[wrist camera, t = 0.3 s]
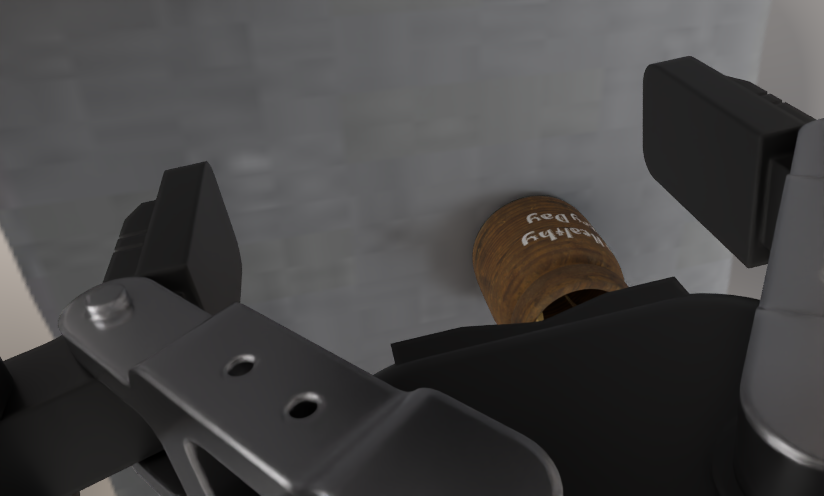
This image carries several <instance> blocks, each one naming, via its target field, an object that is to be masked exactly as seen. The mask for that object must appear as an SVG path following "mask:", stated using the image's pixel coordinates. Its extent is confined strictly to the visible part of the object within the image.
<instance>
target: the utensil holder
mask: <svg viewBox="0 0 824 496" xmlns="http://www.w3.org/2000/svg"><path fill="white" fill-rule="evenodd" d="M473 267H474V272H475V275H476V279H477V281H478V284H479V286H480V289H481V291H482V293H483V296H484V298H485V300H486V303H487V305H488V307H489V309H490V311H491V314H492V316H493V318H494V319H495V321H496V323H497V325H499V324H513V323H528V322H538V321H542V320H545V319H547V318H550V317H552V316H554V315H557V314H559V313H561V312H563V311H566V310H568V309H570V308H572V307H575V306H577V305H579V304H581V303H584V302H586V301H588V300H591V299H593V298H595V297H597V296H600V295H602V294H604V293H607V292H611V291H615V290H620V289H624V288H628V286H627V284H626V283H625V282H624V277H623V274H622V271H621V268H620V266H619V263H618V262H617V260H616V258H615V256H614V255H613V253H612V252H611V250H610V249H609V247H608V246H607V245H606V243H605V242H604V241H603V239H602V238H601V237H600V236H599V234H598V233H597V232H596V230H595V229H594V228H593V227H592V225H591V224H590V223H589V222H588V221H587V219H586V218H585V217H584V216H583V215H582V214H581V213H580V212H579V211H578V210H577V209H575V208H574V207H573V206H571V205H570V204H568V203H566V202H564V201H562V200H560V199H557V198H553V197H548V196H531V197H525V198H521V199H518V200H515V201H513V202H511V203H508V204H507V205H505V206H503V207H502V208H500V209H499V210H497V211H496V212H495V213H494V214H493V215H492V216H491V217H490V218H489V219H488V220H487V221H486V222H485V223H484V225H483V226H482V228H481V229H480V231H479V233H478V235H477V237H476V240H475V244H474V248H473Z"/></svg>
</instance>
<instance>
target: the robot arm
mask: <svg viewBox="0 0 824 496" xmlns="http://www.w3.org/2000/svg"><path fill="white" fill-rule="evenodd" d="M643 153H644V158H645V162H646V165H647V168H648V170H649V172H650V174H651V175H652V177H653V178H654V179H655V180H656V181H657V182H658V183H659V184H660V185H662V186H663V187H664V188H665V189H666V190H667V191H668V192H669V193H670V194H671V195H672V196H673V197H674V198H675V199H676V200H677V201H678V202H679V203H680V204H681V205H682V206H683V207H684V208H686V209H687V210H688V211H689V212H690V213H691V214H692V215H693V216H694V217H695V218H696V219H697V220H698V221H699V222H700V223H701V224H702V225H703V226H704V227H705V228H706V229H707V230H709V231H710V232H711V233H712V234H713V235H714V236H715V237H716V238H717V239H718V240H719V241H720V242H721V243H722V244H723V245H724V246H725V247H726V248H727V249H728V250H729V251H730V252H731V253H733V254H734V255H735V256H736V257H737V258H738V259H739V260H740V261H741V262H742V263H743V264H744V265H745V266H746V267H747V268H753V267H757V266H761V265H765V264H768V266H767V271H766V276H765V281H764V285H763V290H762V295H761V300H758V299H753V298H749V297H742V296H736V295H726V294H706V293H697V294H689V293H688V292H687V291H686V289H685V288H684V287H683V286H682V285H681V284H680V282H679V281H678V280H677V279H676V278H675V277H670V278H666V279H662V280H657V281H653V282H649V283H645V284H641V285H636V286H632V287H628V288H624V289H620V290H615V291H611V292H607V293H604V294H602V295H600V296H597V297H595V298H593V299H591V300H588V301H586V302H584V303H581V304H579V305H577V306H575V307H572V308H570V309H568V310H566V311H563V312H561V313H559V314H557V315H554V316H552V317H550V318H547V319H545V320H542V321H538V322H528V323H513V324H499V325H484V326H469V327H460V328H455V329H451V330H447V331H443V332H439V333H434V334H430V335H426V336H422V337H418V338H413V339H409V340H405V341H401V342H396V343H392V344H391V347H392V352H393V356H394V360H395V364H393V365H391V366H389V367H387V368H385V369H383V370H381V371H379V372H378V373H376V374H374V375H371V374H370V373H368V372H366V371H364V370H362V369H360V368H359V367H357V366H355V365H353V364H351V363H350V362H348V361H346V360H344V359H342V358H340V357H339V356H337V355H335V354H333V353H331V352H329V351H328V350H326V349H324V348H322V347H320V346H319V345H317V344H315V343H313V342H311V341H309V340H308V339H306V338H304V337H302V336H300V335H299V334H297V333H295V332H293V331H291V330H289V329H288V328H286V327H284V326H282V325H280V324H278V323H277V322H275V321H273V320H271V319H269V318H268V317H266V316H264V315H262V314H260V313H258V312H257V311H255V310H253V309H251V308H249V307H248V306H246V305H244V304H241V303H240V297H241V279H242V263H241V257H240V252H239V247H238V243H237V240H236V237H235V234H234V231H233V228H232V225H231V222H230V219H229V216H228V213H227V210H226V207H225V205H224V202H223V199H222V196H221V193H220V190H219V187H218V184H217V181H216V178H215V175H214V173H213V170H212V168H211V166H210V165H209V163H208V162H207V161H206V162H201V163H196V164H192V165H187V166H183V167H178V168H174V169H169V170H165V172H164V174H163V178H162V181H161V185H160V188H159V192H158V195H157V199H156V200H154V201H149V202H145V203H141V204H140V205H139V206H138V207H137V208H136V209H135V210H134V211H133V212H132V213H131V214H130V215H129V216H128V217H127V218H126V219H125V221H124V224H123V227H122V229H121V232H120V235H119V237H120V239H118V241H117V244H116V247H115V253H113V255H112V258H111V261H110V264H109V267H108V269H107V272H106V275H105V278H104V281H103V283H102V284H100V285H98V286H95V287H93V288H91V289H89V290H87V291H86V292H84V293H82V294H81V295H79V296H78V297H77V298H75V299H74V300H73V301H72V302H71V303H69V304H68V305H67V306H66V308H65V309H64V310H63V311H62V313H61V315H60V317H59V320H58V327H59V330H60V332H61V334H62V335H61V336H60V337H58V338H56V339H54V340H52V341H50V342H48V343H46V344H43V345H41V346H39V347H36V348H34V349H32V350H29V351H27V352H24V353H22V354H19V355H17V356H15V357H12V358H10V359H7V360H5V361H2V359H1V357H0V496H80V491H81V490H83V489H85V488H87V487H89V486H91V485H93V484H95V483H97V482H99V481H101V480H103V479H105V478H107V477H109V476H111V475H113V474H115V473H117V472H119V471H121V470H124V469H126V468H128V467H130V466H132V467H133V469H134V470H135V471H136V473H137V474H138V475H139V476H140V477H141V478H142V479H144V480H145V481H146V482H147V483H148V484H149V485H150V486H151V487H152V488H153V489H154V490H155V491H156V492H157V493H158V494H159V495H160V496H824V118H822V119H818V120H816V119H814V118H813V117H811V116H809V115H807V114H805V113H804V112H802V111H800V110H798V109H797V108H795V107H793V106H791V105H790V104H788V103H786V102H785V103H782V100H781V99H779V98H777V97H775V96H774V95H772V94H767V91H765V90H763V89H761V88H760V87H758V86H756V85H754V84H753V83H751V82H749V81H745V80H741V79H737V78H733V77H729V76H725V75H723V74H721V73H720V72H718V71H716V70H715V69H713V68H711V67H709V66H708V65H706V64H704V63H703V62H701V61H699V60H697V59H696V58H694V57H692V56H686V57H682V58H677V59H673V60H668V61H663V62H659V63H654V64H650V65H649V66H647V68H646V70H645V73H644V77H643Z"/></svg>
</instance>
